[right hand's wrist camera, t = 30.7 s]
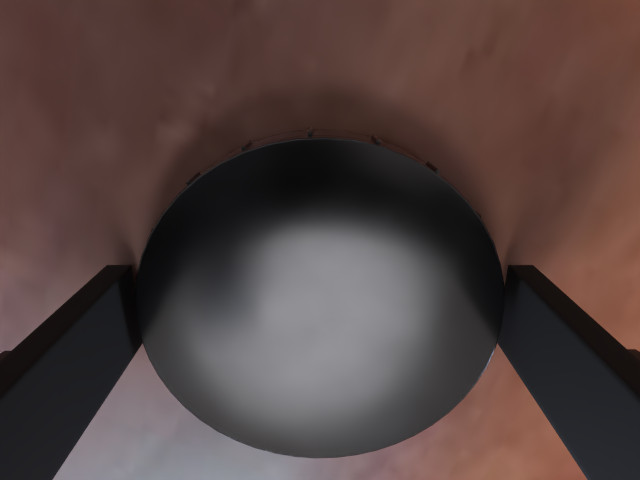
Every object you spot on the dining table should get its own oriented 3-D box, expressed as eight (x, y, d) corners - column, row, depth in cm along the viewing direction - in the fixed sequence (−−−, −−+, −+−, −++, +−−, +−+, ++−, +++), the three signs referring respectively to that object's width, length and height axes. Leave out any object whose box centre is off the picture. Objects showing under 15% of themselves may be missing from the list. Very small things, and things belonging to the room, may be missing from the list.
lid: (366, 41, 11) (374, 36, 10) (543, 328, 14) (569, 357, 13) (82, 262, 13) (52, 285, 12) (290, 465, 17) (287, 503, 15)
